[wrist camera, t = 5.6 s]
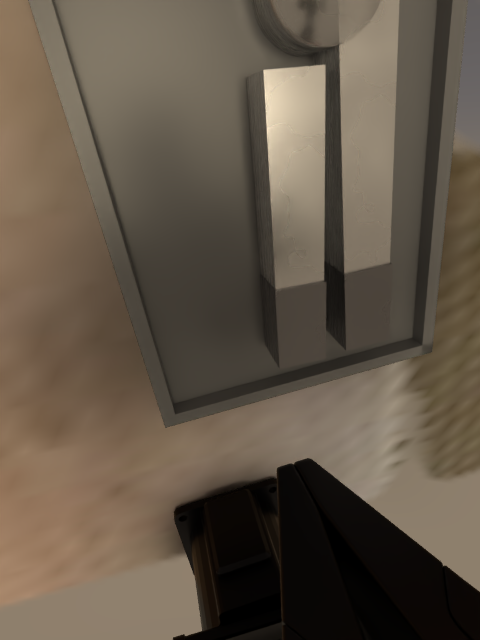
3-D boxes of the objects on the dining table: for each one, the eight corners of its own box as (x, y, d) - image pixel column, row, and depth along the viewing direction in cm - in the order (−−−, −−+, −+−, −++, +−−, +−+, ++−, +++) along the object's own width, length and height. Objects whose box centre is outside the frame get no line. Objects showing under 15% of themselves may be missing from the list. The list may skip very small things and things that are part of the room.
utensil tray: (412, 337, 22) (431, 352, 20) (163, 406, 20) (165, 427, 18) (463, -369, 11) (513, -442, 9) (-83, -376, 9) (-123, -472, 7)
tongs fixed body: (365, 318, 19) (389, 339, 17) (288, 339, 19) (304, 362, 17) (368, -221, 11) (414, -289, 9) (229, -214, 10) (249, -286, 9)
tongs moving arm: (306, 336, 19) (325, 358, 17) (265, 345, 18) (279, 369, 17) (302, 72, 14) (328, 63, 12) (244, 77, 13) (262, 69, 12)
